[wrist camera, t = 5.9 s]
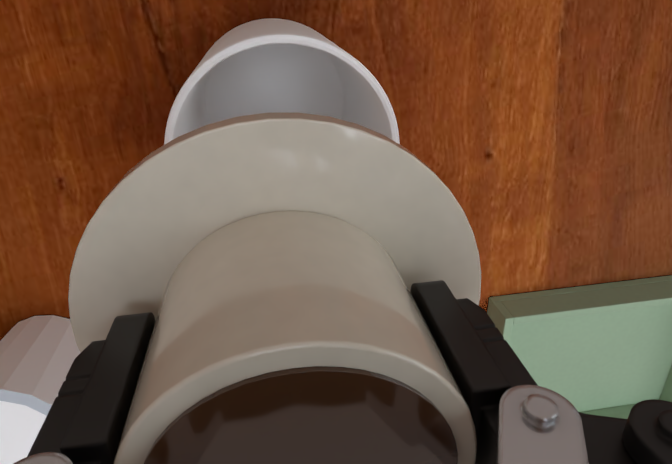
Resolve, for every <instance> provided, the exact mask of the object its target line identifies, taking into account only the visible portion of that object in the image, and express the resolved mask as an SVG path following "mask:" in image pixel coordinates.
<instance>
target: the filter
mask: <svg viewBox="0 0 672 464" xmlns="http://www.w3.org/2000/svg"><path fill="white" fill-rule="evenodd" d="M439 280H443V281H444V282H445V283H446V284H447V286H448V287H449V289H450V290H451V292H452V294H453V295H454V297H455V298H456V299H464V298H468V299H469V300H471V301H472V302H474V303H475V304H477V305H479V300H480V289H481V269H480V259H479V252H478V248H477V244H476V241H475V237H474V233H473V231H472V228H471V226H470V224H469V222H468V219H467V217H466V215H465V213H464V211H463V209H462V208H461V206H460V205H459V203H458V202H457V200H456V198H455V197H454V195H453V194H452V192H451V191H450V190H449V189H448V188H447V187H446V185H445V184H444V183H443V182H442V181H441V180H440V179H439V178H438V177H437V175H436V174H435V173H434V172H433V171H432V170H431V169H430V168H429V167H428V166H427V165H426V164H425V163H424V162H422V161H421V160H420V159H419V158H417V157H416V156H415V155H414V154H413V153H411V152H410V151H409V150H408V149H406V148H405V147H403V146H401V145H400V144H398V143H396V142H395V141H393V140H391V139H390V138H388V137H386V136H385V135H382V134H380V133H378V132H375V131H373V130H371V129H368V128H366V127H364V126H361V125H359V124H356V123H352V122H348V121H344V120H341V119H337V118H333V117H330V116H322V115H314V114H307V113H299V112H297V113H261V114H253V115H246V116H239V117H234V118H230V119H226V120H223V121H219V122H215V123H212V124H208V125H205V126H203V127H200V128H198V129H195V130H193V131H191V132H188V133H186V134H184V135H181V136H179V137H177V138H175V139H173V140H172V141H170V142H168V143H167V144H165V145H163V146H162V147H160V148H158V149H157V150H155V151H153V152H152V153H150V154H149V155H148V156H147V157H145V158H144V159H143V160H142V161H140V162H139V163H138V164H137V165H135V166H134V167H133V168H132V169H130V170H129V171H128V172H127V173H126V174H125V175H124V177H123V178H122V179H121V180H120V181H119V182H118V183H117V184H116V185H115V186H114V187H113V189H112V190H111V191H110V192H109V193H108V195H107V196H106V197H105V199H104V200H103V202H102V203H101V205H100V206H99V208H98V209H97V211H96V212H95V214H94V215H93V217H92V218H91V220H90V221H89V223H88V224H87V226H86V229H85V231H84V233H83V235H82V238H81V240H80V242H79V244H78V247H77V249H76V253H75V257H74V260H73V264H72V268H71V272H70V282H69V294H68V301H69V311H70V322H71V326H72V329H73V333H74V337H75V341H76V344H77V347H78V349H79V351H80V353H81V352H82V351H83V350H84V349H85V348H86V347H87V346H88V345H89V344H90V343H91V342H92V341H100V340H106V337H107V335H108V333H109V330H110V328H111V326H112V323H113V321H114V319H115V318H116V317H117V316H122V315H130V314H139V313H148V312H152V313H153V315H154V316H155V319H156V322H155V325H154V328H153V332H152V335H151V338H150V342H149V345H148V348H147V352H146V355H145V359H144V362H143V365H142V369H141V372H140V375H139V379H138V382H137V386H136V389H135V392H134V396H133V399H132V402H131V406H130V409H129V412H128V416H127V419H126V423H125V426H124V429H123V433H122V436H121V439H120V443H119V446H118V450H117V453H116V456H115V460H114V464H475V461H476V451H477V437H476V429H475V424H474V421H473V418H472V415H471V412H470V409H469V407H468V405H467V403H466V401H465V399H464V397H463V395H462V393H461V392H460V390H459V388H458V386H457V384H456V382H455V380H454V378H453V376H452V374H451V372H450V370H449V368H448V366H447V364H446V362H445V360H444V358H443V356H442V354H441V352H440V350H439V348H438V346H437V344H436V342H435V340H434V338H433V336H432V334H431V332H430V330H429V328H428V326H427V324H426V322H425V320H424V318H423V316H422V314H421V312H420V310H419V308H418V306H417V304H416V302H415V300H414V298H413V296H412V295H411V293H410V290H411V285H412V284H413V283H421V282H430V281H439Z"/></svg>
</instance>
